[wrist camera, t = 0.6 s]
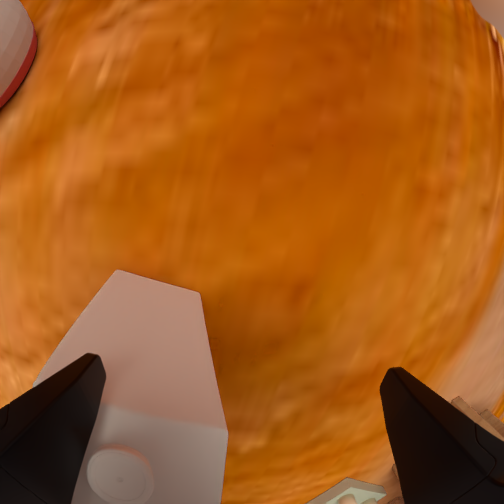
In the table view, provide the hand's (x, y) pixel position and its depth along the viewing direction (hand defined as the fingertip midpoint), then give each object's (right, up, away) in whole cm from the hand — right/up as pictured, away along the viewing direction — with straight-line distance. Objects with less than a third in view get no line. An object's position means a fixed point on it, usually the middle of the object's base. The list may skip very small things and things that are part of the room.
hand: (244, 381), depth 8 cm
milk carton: (-8, -2, +15) cm, 17 cm away
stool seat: (+13, -35, +21) cm, 43 cm away
